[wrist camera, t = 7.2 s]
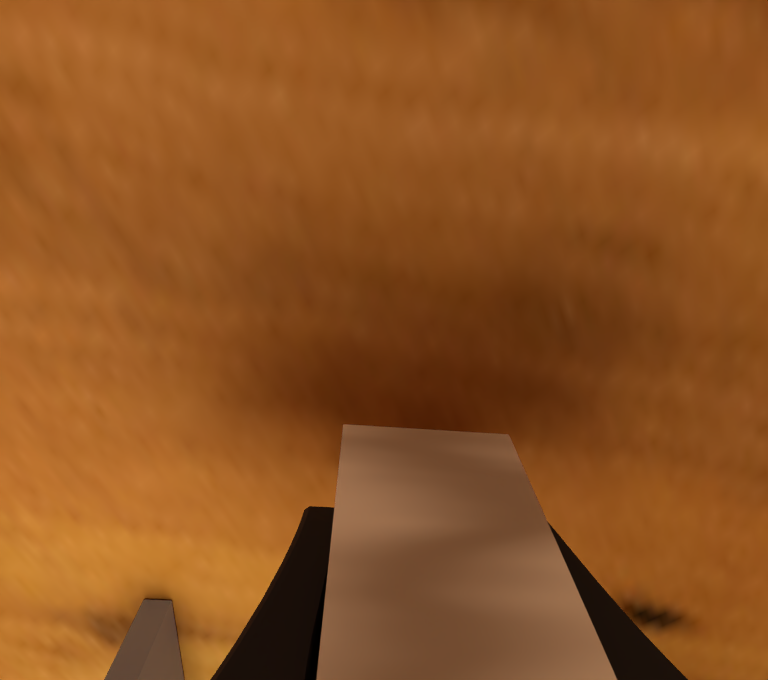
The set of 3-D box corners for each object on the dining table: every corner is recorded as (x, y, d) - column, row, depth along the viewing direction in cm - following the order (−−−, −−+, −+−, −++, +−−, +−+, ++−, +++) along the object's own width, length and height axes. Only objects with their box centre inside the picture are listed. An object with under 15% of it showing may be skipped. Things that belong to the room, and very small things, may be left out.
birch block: (508, 434, 11) (641, 734, 6) (479, 551, 13) (559, 870, 7) (343, 424, 11) (311, 725, 5) (335, 545, 12) (305, 869, 7)
